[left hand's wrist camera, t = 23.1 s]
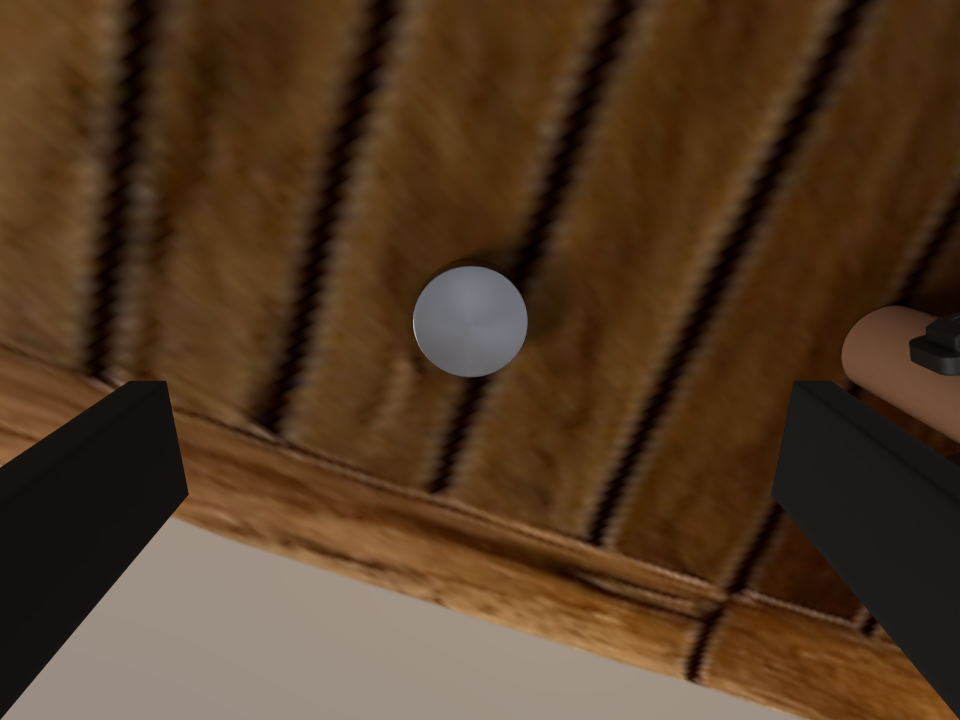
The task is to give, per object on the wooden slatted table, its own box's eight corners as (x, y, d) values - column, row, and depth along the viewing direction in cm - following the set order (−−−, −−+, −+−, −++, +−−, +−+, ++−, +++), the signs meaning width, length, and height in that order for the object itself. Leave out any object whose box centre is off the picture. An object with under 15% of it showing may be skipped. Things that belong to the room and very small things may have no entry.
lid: (539, 278, 26) (544, 286, 25) (504, 376, 28) (506, 390, 26) (434, 244, 26) (431, 250, 24) (404, 346, 27) (399, 358, 26)
